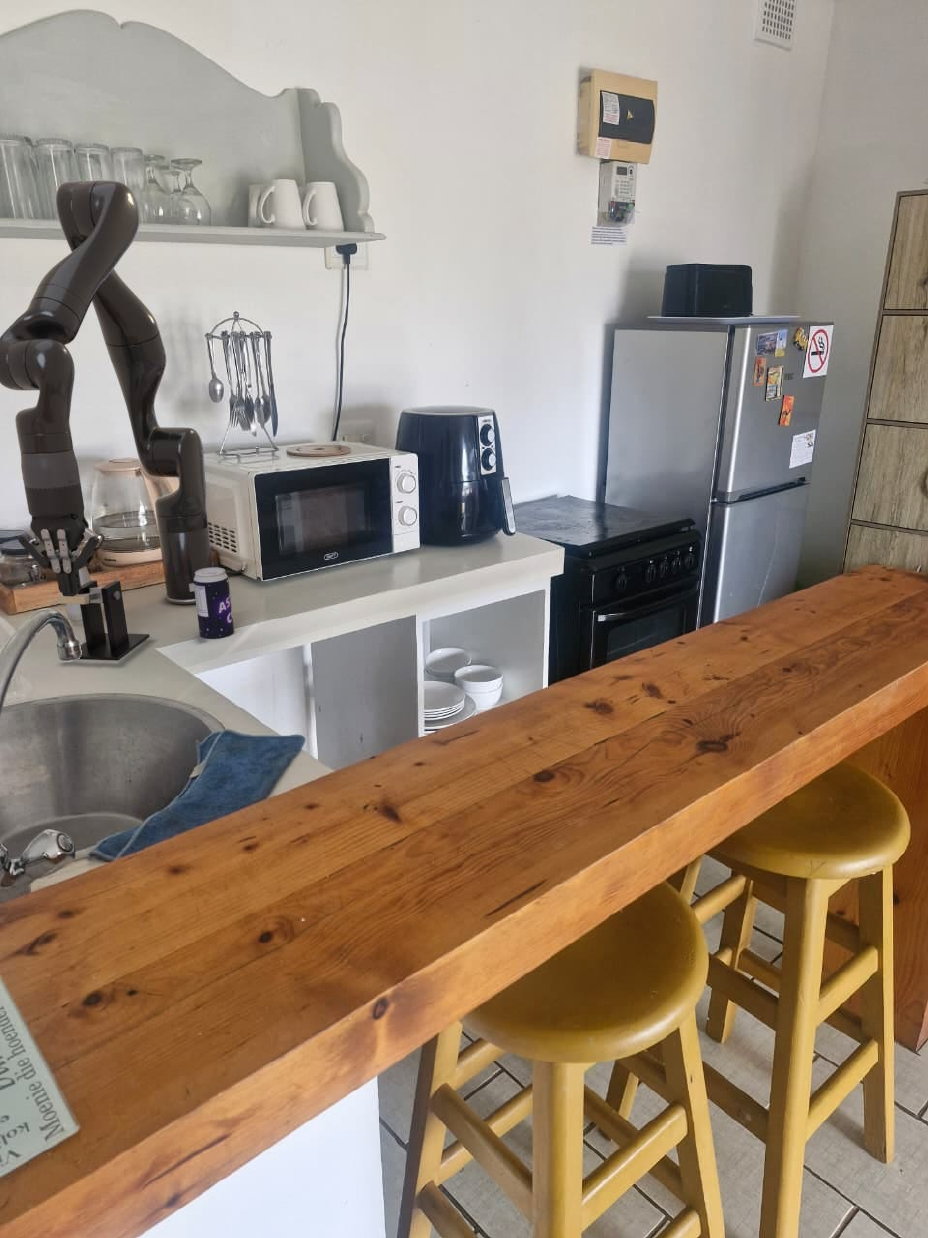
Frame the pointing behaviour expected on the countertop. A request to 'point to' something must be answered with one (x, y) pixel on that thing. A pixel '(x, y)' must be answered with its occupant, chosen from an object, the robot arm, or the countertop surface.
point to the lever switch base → (117, 637)
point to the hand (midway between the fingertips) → (70, 594)
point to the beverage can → (213, 603)
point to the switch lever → (82, 597)
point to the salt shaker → (75, 609)
